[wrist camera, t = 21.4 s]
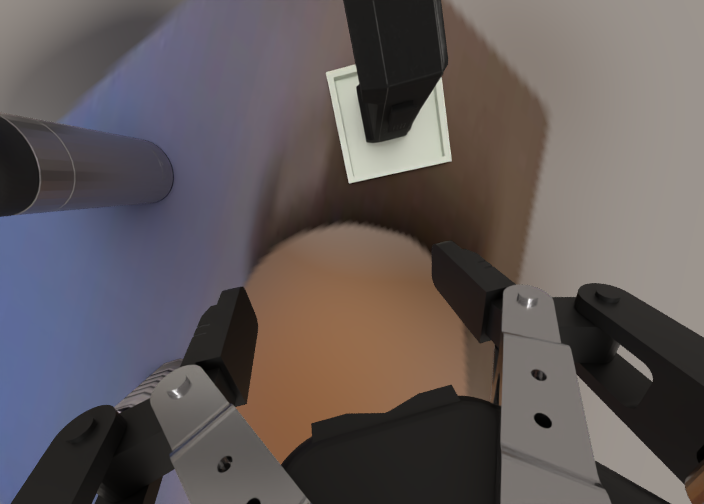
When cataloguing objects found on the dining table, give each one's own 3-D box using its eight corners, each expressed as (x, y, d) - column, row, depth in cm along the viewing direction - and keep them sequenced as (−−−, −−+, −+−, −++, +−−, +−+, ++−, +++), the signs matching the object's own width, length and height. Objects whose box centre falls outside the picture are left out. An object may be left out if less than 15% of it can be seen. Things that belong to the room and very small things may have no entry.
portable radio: (411, 142, 37) (488, 68, 13) (368, 153, 38) (365, 100, 14) (401, 79, 36) (468, -140, 11) (356, 91, 36) (329, -92, 12)
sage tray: (349, 183, 40) (348, 183, 38) (328, 77, 37) (325, 72, 35) (447, 161, 38) (451, 160, 36) (434, 49, 35) (437, 42, 33)
